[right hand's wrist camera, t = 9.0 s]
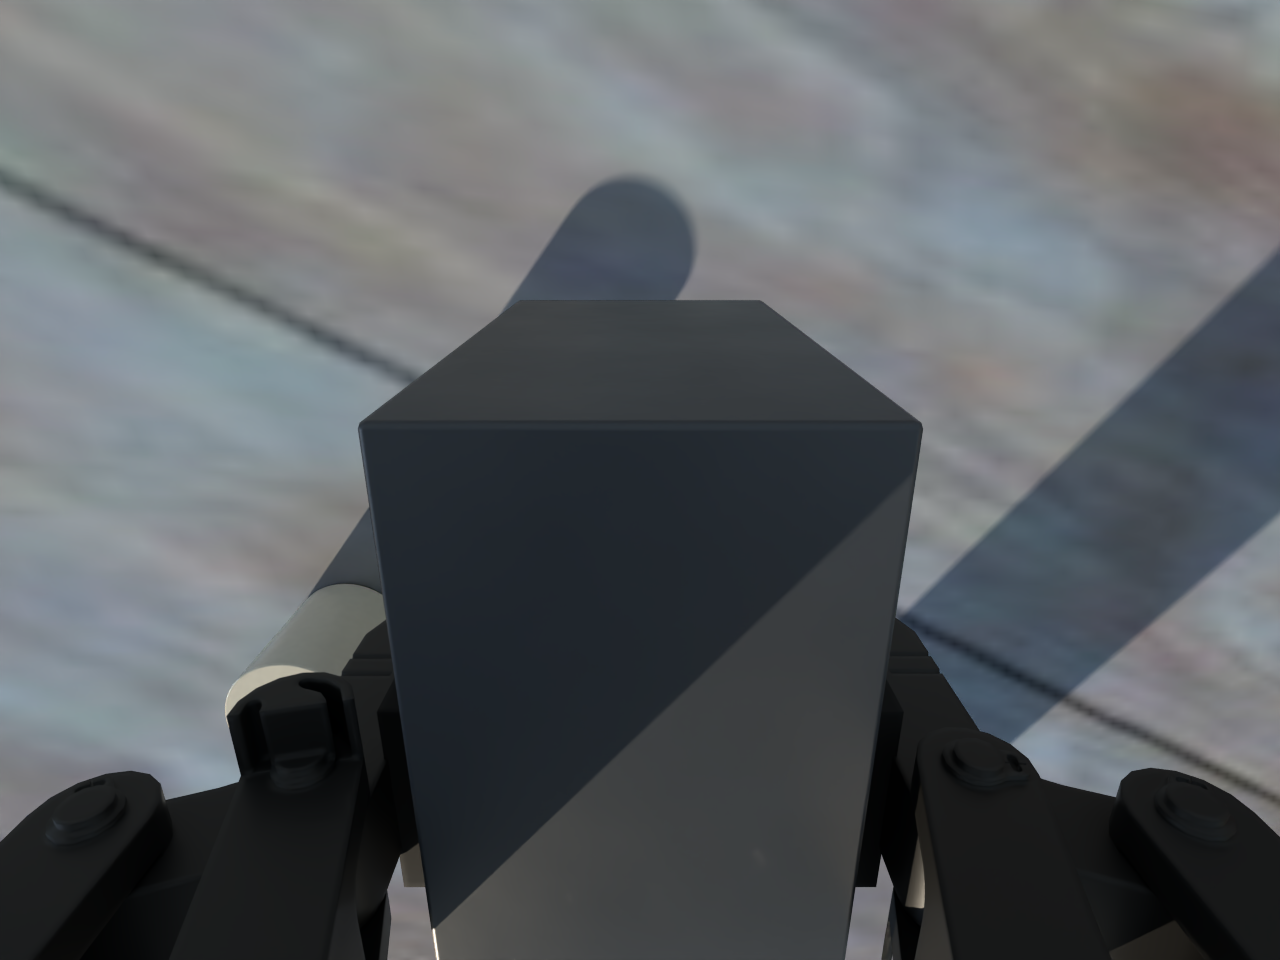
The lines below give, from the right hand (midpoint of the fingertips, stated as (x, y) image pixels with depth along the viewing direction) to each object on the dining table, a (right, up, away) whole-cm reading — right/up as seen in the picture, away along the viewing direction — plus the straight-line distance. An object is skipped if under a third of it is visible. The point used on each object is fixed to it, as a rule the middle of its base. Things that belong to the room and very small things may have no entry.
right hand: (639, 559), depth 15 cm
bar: (0, -8, +3) cm, 9 cm away
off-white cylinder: (-13, -5, +18) cm, 22 cm away
